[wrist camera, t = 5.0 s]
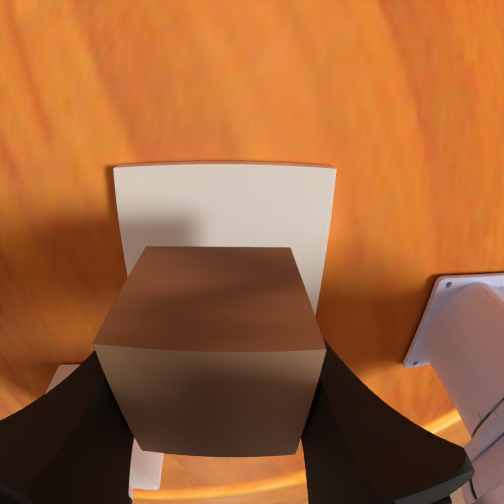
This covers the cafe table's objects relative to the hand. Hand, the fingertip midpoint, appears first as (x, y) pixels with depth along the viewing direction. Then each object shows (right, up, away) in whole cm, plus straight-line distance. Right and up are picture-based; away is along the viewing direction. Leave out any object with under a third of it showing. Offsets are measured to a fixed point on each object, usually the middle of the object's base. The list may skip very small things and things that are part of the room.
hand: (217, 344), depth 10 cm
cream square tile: (0, +3, +6) cm, 6 cm away
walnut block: (0, +1, +1) cm, 2 cm away
